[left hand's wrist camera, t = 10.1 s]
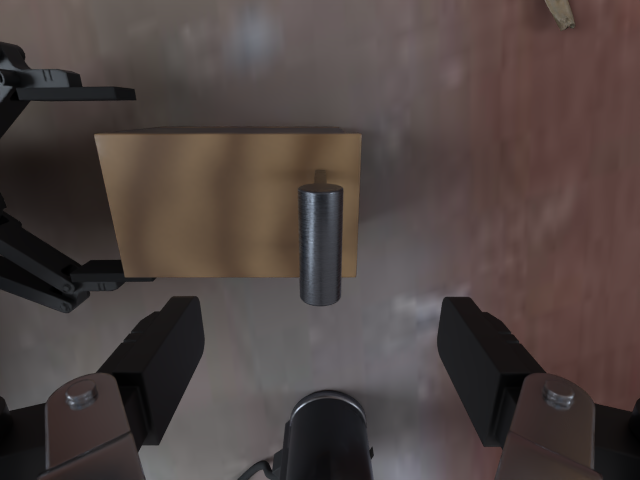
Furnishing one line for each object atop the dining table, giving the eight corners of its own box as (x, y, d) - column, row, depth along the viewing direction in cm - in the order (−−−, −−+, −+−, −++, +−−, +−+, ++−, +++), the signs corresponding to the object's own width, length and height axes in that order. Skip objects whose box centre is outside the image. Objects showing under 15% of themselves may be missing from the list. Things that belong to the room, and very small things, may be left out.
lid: (359, 132, 23) (382, 144, 15) (354, 270, 27) (370, 341, 18) (105, 132, 23) (-14, 144, 15) (133, 270, 27) (49, 341, 18)
